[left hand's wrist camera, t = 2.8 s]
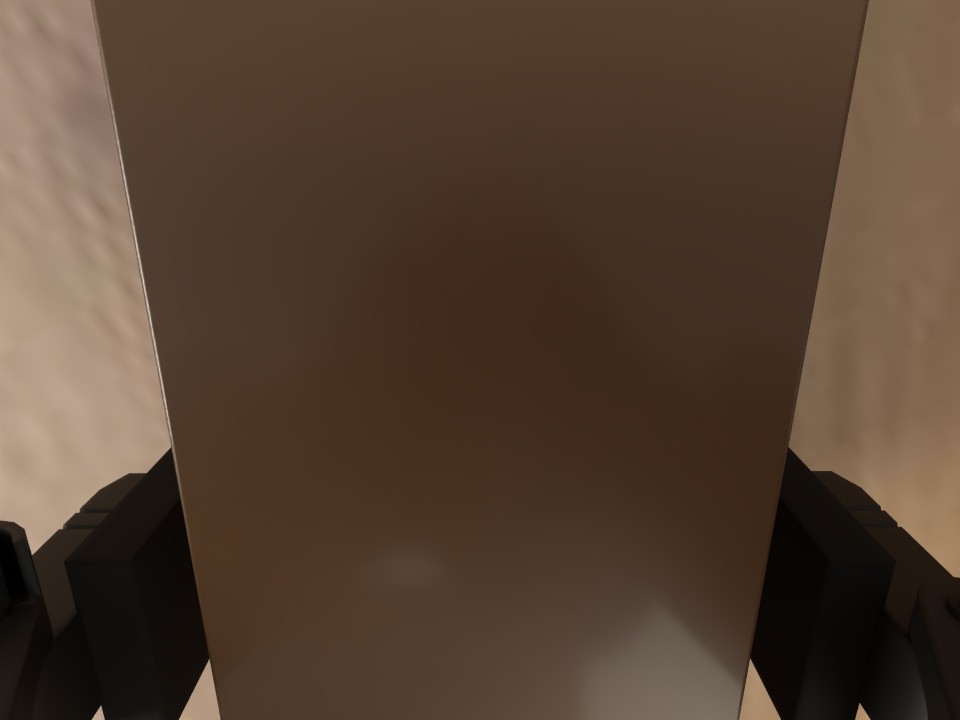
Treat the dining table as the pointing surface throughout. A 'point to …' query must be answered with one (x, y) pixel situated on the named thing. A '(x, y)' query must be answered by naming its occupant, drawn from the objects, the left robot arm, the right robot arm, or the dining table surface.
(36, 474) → the dining table surface
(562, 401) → the bar
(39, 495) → the dining table surface
